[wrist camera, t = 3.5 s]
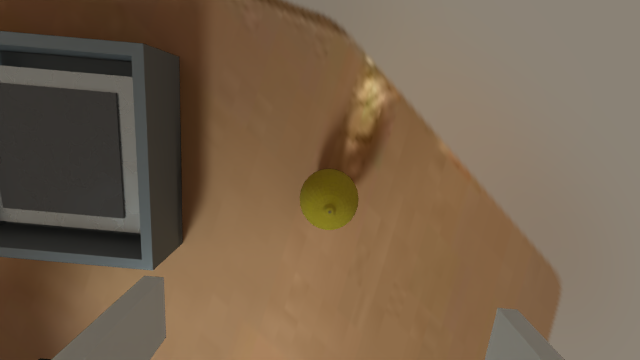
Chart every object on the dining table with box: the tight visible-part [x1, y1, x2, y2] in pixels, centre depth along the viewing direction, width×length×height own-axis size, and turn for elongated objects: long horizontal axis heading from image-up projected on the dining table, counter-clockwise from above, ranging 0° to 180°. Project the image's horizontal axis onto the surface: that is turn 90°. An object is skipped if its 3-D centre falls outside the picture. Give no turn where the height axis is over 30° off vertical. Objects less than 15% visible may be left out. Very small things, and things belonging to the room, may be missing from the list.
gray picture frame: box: [0, 65, 140, 233], centre depth 29 cm, size 15×15×1 cm
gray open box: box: [0, 31, 183, 270], centre depth 29 cm, size 20×20×7 cm
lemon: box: [300, 169, 358, 230], centre depth 29 cm, size 6×6×8 cm
